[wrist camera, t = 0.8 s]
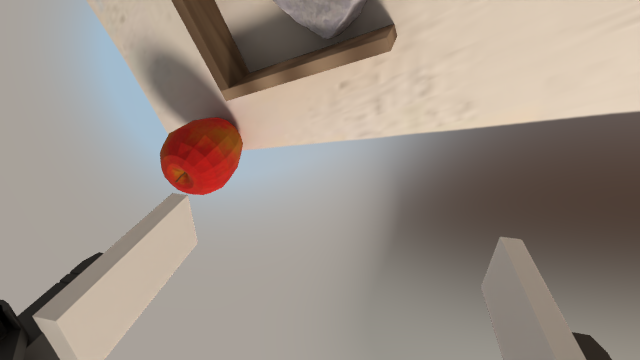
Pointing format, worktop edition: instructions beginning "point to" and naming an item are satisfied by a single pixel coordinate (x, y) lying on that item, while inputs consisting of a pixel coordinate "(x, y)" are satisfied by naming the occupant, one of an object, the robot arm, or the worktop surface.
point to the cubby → (236, 80)
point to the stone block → (323, 14)
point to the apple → (201, 155)
